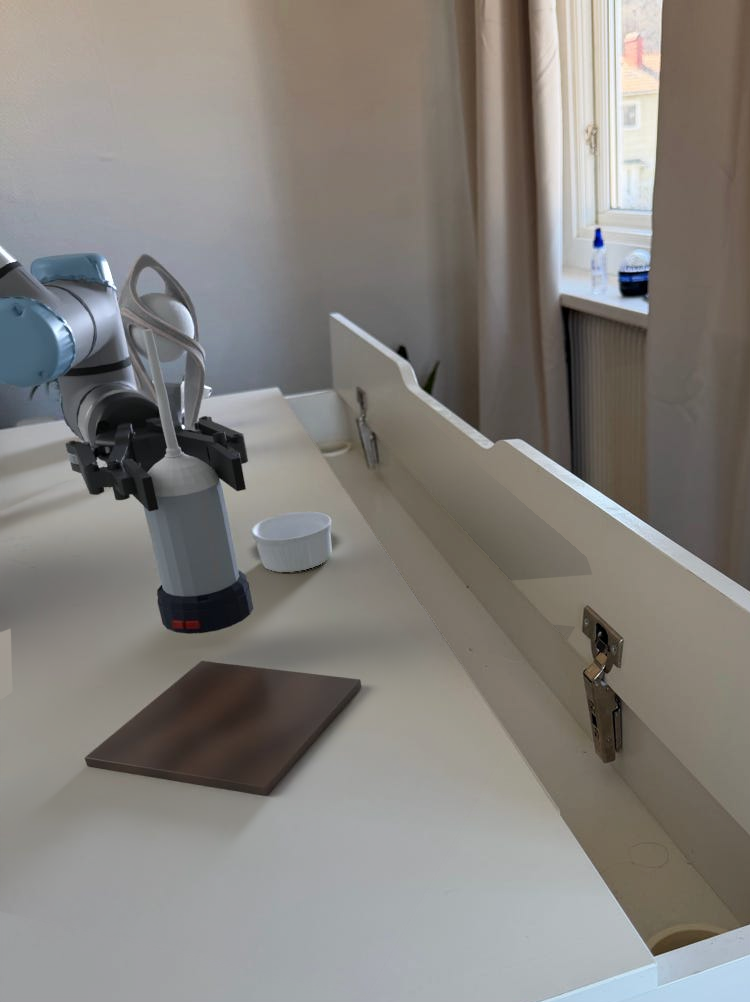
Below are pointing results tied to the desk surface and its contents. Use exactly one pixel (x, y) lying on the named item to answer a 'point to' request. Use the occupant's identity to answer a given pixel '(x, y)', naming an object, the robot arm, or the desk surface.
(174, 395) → the dark grey angular block
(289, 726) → the mat
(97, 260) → the robot arm
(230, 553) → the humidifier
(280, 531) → the ramekin
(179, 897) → the desk surface
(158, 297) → the sculpture
